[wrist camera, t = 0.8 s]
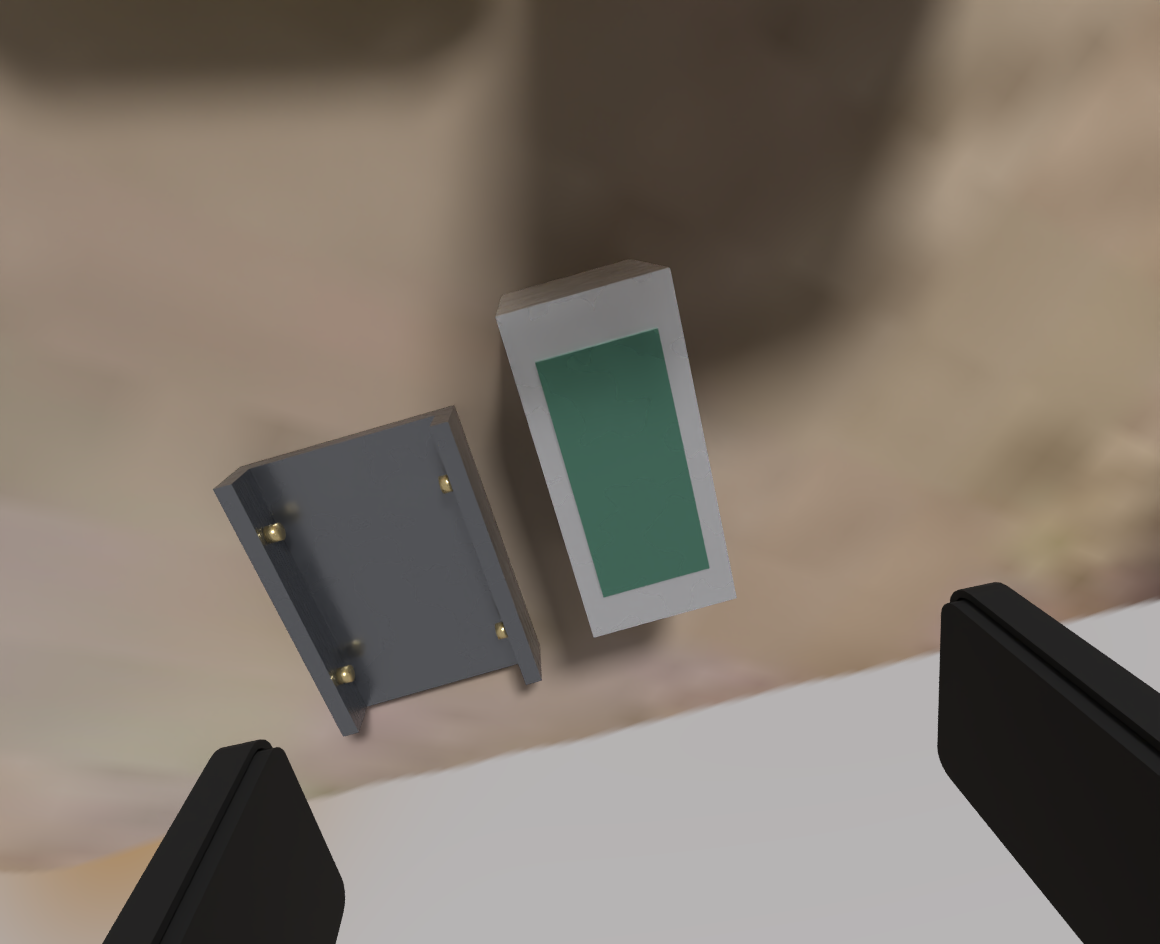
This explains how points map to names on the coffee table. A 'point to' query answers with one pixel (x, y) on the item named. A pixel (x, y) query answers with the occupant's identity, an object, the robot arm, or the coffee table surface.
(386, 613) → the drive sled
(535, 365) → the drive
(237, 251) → the coffee table surface
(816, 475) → the coffee table surface
